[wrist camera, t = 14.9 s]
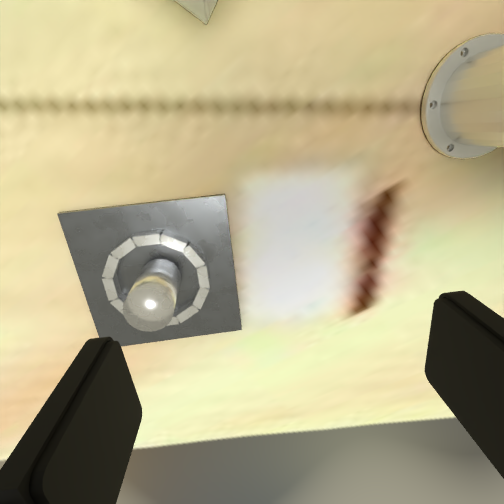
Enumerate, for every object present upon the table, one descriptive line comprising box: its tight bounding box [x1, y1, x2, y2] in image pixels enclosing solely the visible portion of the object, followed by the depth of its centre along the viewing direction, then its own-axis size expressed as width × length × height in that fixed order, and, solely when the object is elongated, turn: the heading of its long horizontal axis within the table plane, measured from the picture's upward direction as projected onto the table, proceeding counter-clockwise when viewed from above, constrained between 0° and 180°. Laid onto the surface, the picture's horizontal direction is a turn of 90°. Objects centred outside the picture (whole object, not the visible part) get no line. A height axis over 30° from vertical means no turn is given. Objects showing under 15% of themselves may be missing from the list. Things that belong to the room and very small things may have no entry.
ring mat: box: [57, 194, 242, 346], centre depth 38 cm, size 19×19×2 cm
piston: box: [123, 259, 181, 332], centre depth 35 cm, size 5×5×8 cm
